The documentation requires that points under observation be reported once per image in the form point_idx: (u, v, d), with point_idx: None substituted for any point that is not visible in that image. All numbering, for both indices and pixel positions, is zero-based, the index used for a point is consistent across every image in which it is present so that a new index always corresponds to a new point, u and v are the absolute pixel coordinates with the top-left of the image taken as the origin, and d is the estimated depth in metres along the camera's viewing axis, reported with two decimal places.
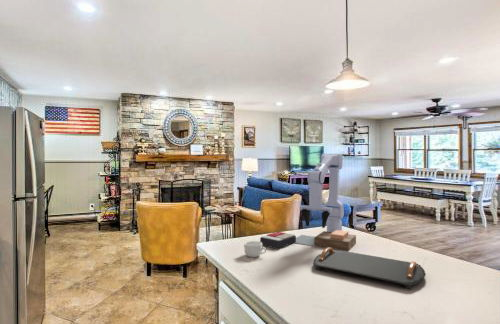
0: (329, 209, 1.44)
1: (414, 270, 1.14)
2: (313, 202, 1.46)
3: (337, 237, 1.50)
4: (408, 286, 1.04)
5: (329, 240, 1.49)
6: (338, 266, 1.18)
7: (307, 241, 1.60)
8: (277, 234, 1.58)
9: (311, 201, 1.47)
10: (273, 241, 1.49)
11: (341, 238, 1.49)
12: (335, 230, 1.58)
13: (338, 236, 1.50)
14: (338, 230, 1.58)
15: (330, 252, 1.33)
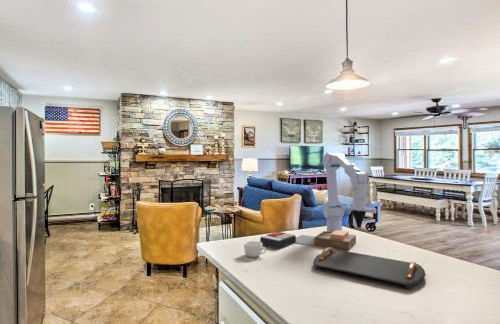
0: (374, 210, 1.45)
1: (414, 270, 1.14)
2: (357, 203, 1.47)
3: (337, 237, 1.50)
4: (408, 286, 1.04)
5: (329, 240, 1.49)
6: (338, 266, 1.18)
7: (307, 241, 1.60)
8: (277, 234, 1.58)
9: (355, 202, 1.47)
10: (273, 241, 1.49)
11: (341, 238, 1.49)
12: (335, 230, 1.58)
13: (338, 236, 1.50)
14: (338, 230, 1.58)
15: (330, 252, 1.33)
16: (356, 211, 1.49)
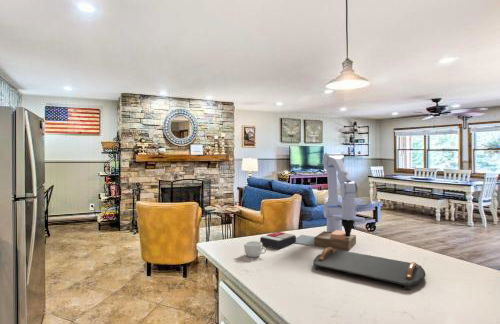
0: (362, 219, 1.47)
1: (414, 271, 1.13)
2: (346, 212, 1.49)
3: (337, 237, 1.50)
4: (407, 286, 1.04)
5: (329, 240, 1.49)
6: (338, 266, 1.18)
7: (307, 241, 1.60)
8: (277, 234, 1.58)
9: (344, 211, 1.50)
10: (273, 241, 1.49)
11: (341, 238, 1.49)
12: (335, 230, 1.58)
13: (338, 236, 1.50)
14: (338, 230, 1.58)
15: (331, 252, 1.33)
16: (345, 220, 1.52)
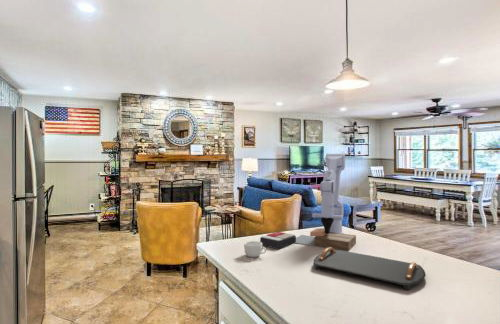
0: (340, 217, 1.53)
1: (414, 271, 1.13)
2: (325, 210, 1.54)
3: (317, 235, 1.55)
4: (407, 286, 1.03)
5: (329, 240, 1.49)
6: (337, 266, 1.18)
7: (307, 241, 1.60)
8: (277, 234, 1.58)
9: (323, 209, 1.55)
10: (273, 241, 1.49)
11: (320, 235, 1.54)
12: None
13: (317, 233, 1.55)
14: (318, 228, 1.63)
15: (331, 252, 1.33)
16: (324, 218, 1.57)
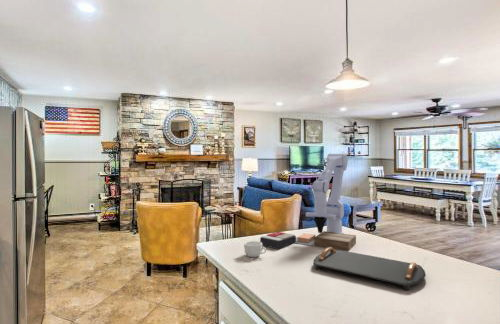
0: (333, 216, 1.54)
1: (414, 271, 1.13)
2: (318, 209, 1.56)
3: (302, 238, 1.59)
4: (407, 286, 1.03)
5: (329, 240, 1.49)
6: (337, 266, 1.18)
7: None
8: (277, 234, 1.58)
9: (316, 209, 1.57)
10: (273, 241, 1.49)
11: (299, 238, 1.60)
12: None
13: (301, 240, 1.59)
14: None
15: (331, 252, 1.33)
16: (317, 217, 1.59)
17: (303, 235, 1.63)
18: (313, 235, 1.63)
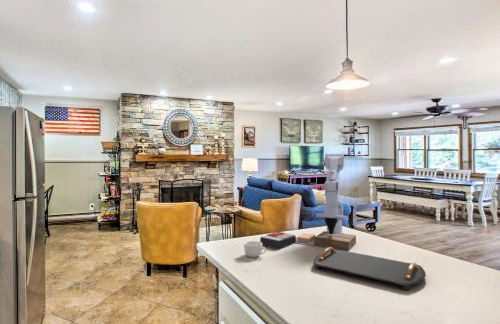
0: (345, 217, 1.51)
1: (414, 271, 1.13)
2: (329, 210, 1.53)
3: (302, 238, 1.59)
4: (406, 287, 1.03)
5: (329, 240, 1.49)
6: (337, 266, 1.18)
7: None
8: (277, 234, 1.58)
9: (327, 209, 1.54)
10: (273, 241, 1.49)
11: (299, 238, 1.60)
12: None
13: (301, 240, 1.59)
14: None
15: (331, 252, 1.33)
16: (328, 218, 1.56)
17: (303, 235, 1.63)
18: (313, 235, 1.63)
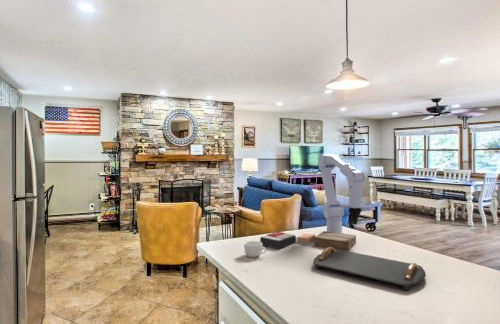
0: (369, 207, 1.50)
1: (414, 272, 1.13)
2: (353, 200, 1.52)
3: (302, 238, 1.59)
4: (406, 287, 1.03)
5: (329, 240, 1.49)
6: (337, 266, 1.18)
7: None
8: (277, 234, 1.58)
9: (351, 199, 1.53)
10: (273, 241, 1.49)
11: (299, 238, 1.60)
12: None
13: (301, 240, 1.59)
14: None
15: (332, 252, 1.33)
16: (352, 208, 1.55)
17: (303, 235, 1.63)
18: (313, 235, 1.63)
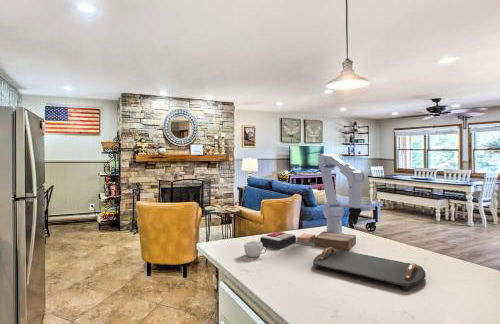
0: (369, 207, 1.50)
1: (414, 272, 1.12)
2: (353, 200, 1.52)
3: (302, 238, 1.59)
4: (405, 287, 1.03)
5: (329, 240, 1.49)
6: (337, 266, 1.18)
7: None
8: (277, 234, 1.58)
9: (351, 199, 1.53)
10: (273, 241, 1.49)
11: (299, 238, 1.60)
12: None
13: (301, 240, 1.59)
14: None
15: (332, 252, 1.33)
16: (352, 208, 1.55)
17: (303, 235, 1.63)
18: (313, 235, 1.63)
